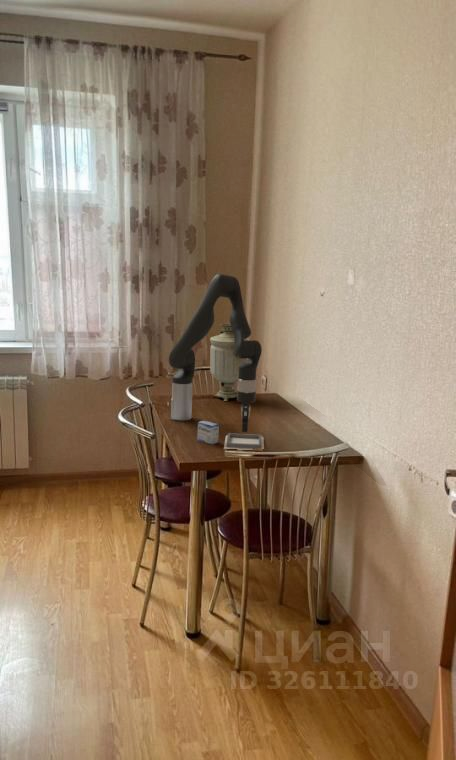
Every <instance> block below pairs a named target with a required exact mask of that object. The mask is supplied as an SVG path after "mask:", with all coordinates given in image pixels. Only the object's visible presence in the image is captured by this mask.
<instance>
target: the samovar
mask: <svg viewBox="0 0 456 760" xmlns="http://www.w3.org/2000/svg"><path fill="white" fill-rule="evenodd" d="M220 326H221V327H222V330H221V331H220V334H218V335H214V336H211V337H210V338H209V340H210V343H211V345H210V346H209V347H210V351H209V352H210V354H209V355H210V356H209V357H210V359H209V361H210V362H209V363H210V364H209V369H210V370H209V373H210V375H211V376H212V378H214V379H215V380H216V381H218V382H220V386H221V387H222V389H220V390H219V391H217V393H216V394H215V395H213V396H217V397H219V398H222V399H223V402H224V401H228V400H229V399H230V398H231V399H233V398H237V392H236V390H235V389H233V388H234V387H235V383H238V377H239V366H240V365H241V364H244V363H246V362H247V361H248V358H245V359H241V358H239V357H238V356H237V355H236V353H235V339H234V333H233V331H232V328H231V325H230V322H229V323H221V324H220ZM248 338H249V337H248ZM248 338H246V339H244V341H249V339H248ZM228 402H229V401H228Z"/></svg>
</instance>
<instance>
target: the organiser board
mask: <svg viewBox="0 0 456 760" xmlns="http://www.w3.org/2000/svg"><path fill="white" fill-rule="evenodd" d="M264 441H265V439H264V436H262V434H254V433H233V432H232V433H231V432H228V433H227V435H225V440H224V444H223V445H224V447H223V450H226V449H237V450H236V451H242V450H253V449H252V448H258V449H264V450H265V445H264V444H265V442H264Z"/></svg>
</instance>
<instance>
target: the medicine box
mask: <svg viewBox="0 0 456 760" xmlns="http://www.w3.org/2000/svg"><path fill="white" fill-rule="evenodd" d="M219 428H220V424H219V423H215V422H211V421H208V420H201V421H199V422H197V438H196V439H197V440H196V441H198V442H202V443H205V444H209V445H215V444H217V443H219V435H220V434H219V433H220V431H219Z"/></svg>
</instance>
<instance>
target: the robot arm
mask: <svg viewBox="0 0 456 760" xmlns="http://www.w3.org/2000/svg"><path fill="white" fill-rule="evenodd" d="M242 296H243V295H242V290H241V285H240V282H239V279H238V278H237V277H235V276H232V275H228V274H224V273H223V274H222V273H218V274H216V275H215V276H214V277H212V280H210V283H209V284H208V287H207V289H206V292H205V295H204V297H203V298H202V301H201V302H200V303H199V306H198V308H197V310H196V311H195V313H194V314H193V316H192V318H191V319H190V321H189V323H188V325H187V326H186V329H185V330H184V331H183V333H182V335H181V337H180V338H179V340H178V341H177V343H176V344H175V345H174V346H173V348H172V349H171V351H170V353H169V354H168V363H169V365H170V367H171V368H174V369H177V372H176V373H174V374H173V375H172V378H171V381H172V382H171V398H170V400H171V401H170V404H171V405H170V420H174V421H189V420H191V419H192V412H193V411H192V409H193V407H192V405H193V379H194V376H195V368H196V367H195V366H196V355H195V351H194V350H193V349H192V348H193V347H194V346H195V345H197V344H199V342H201V341H202V340H203V339H204V338H205V337H206V336H207V335H208V334H209V332H210V330H211V329H212V327H213V325H214V323H215V305H216V302H217V300H218V299H219V298H220V297H221V298H227V299H228V300H229V301H230V304H231V311H230V315H229V323H230V325H231V328H232V331H233V333H234V339H235V353H236V355H237V356H238V357H239V358H241V359H245V358H247V360H248V361H247V362H246V363H244V364H241V365H240V366H239V377H238V382H237V384H236V385H237V390H236V391H237V397H236V401H237V402H239V403H242V404H241V405H240V414H241V416H240V417H241V423H242V424H241V426H242V427H241V429H242V430H241V432H242V433H248V429H249V418H250V417H251V416H250V415H251V410H252V405H251V404H252V403H254V402H256V399H257V397H256V395H257V394H256V393H257V368H258V364H259V363H260V358H261V355H262V345H261V343H260V341H258V340H248V341H244V339H246V338H249V337H250V336H251V335H252V331H251V327H250V325H249V321H248V319H247V316H246V312H245V308H244V302H243V297H242Z"/></svg>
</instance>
